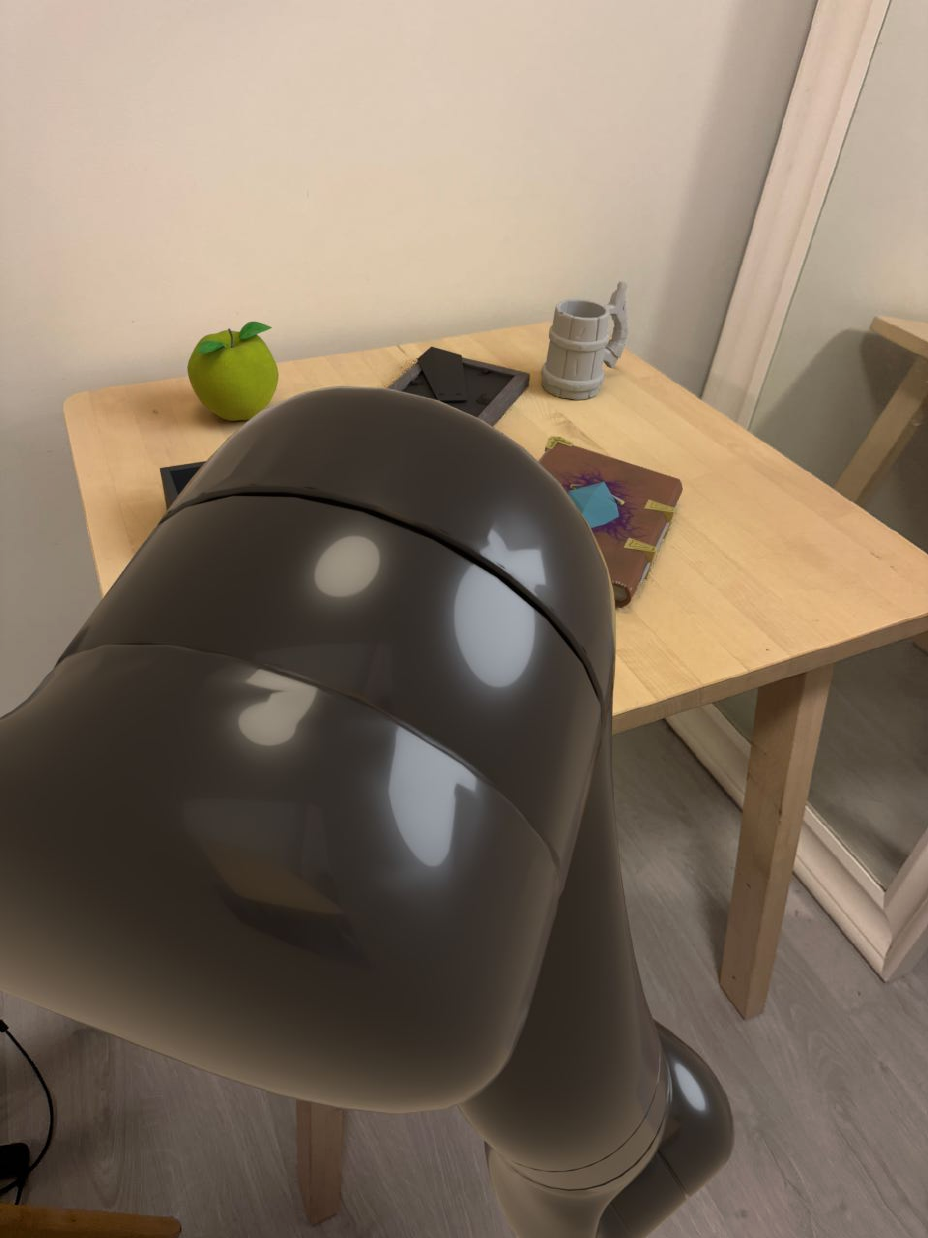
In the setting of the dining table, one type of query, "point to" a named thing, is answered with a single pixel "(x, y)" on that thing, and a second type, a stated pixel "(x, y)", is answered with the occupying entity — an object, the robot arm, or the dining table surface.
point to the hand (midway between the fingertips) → (285, 677)
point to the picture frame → (464, 383)
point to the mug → (584, 345)
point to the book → (617, 508)
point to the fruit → (234, 372)
